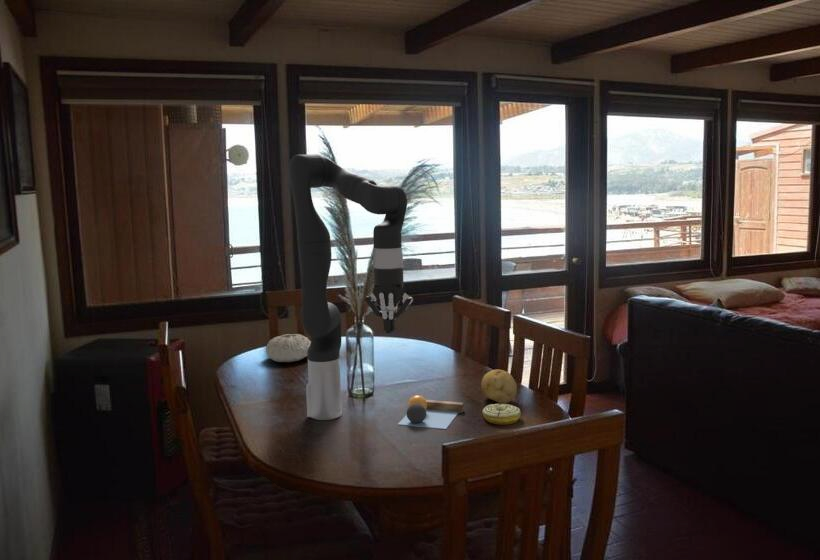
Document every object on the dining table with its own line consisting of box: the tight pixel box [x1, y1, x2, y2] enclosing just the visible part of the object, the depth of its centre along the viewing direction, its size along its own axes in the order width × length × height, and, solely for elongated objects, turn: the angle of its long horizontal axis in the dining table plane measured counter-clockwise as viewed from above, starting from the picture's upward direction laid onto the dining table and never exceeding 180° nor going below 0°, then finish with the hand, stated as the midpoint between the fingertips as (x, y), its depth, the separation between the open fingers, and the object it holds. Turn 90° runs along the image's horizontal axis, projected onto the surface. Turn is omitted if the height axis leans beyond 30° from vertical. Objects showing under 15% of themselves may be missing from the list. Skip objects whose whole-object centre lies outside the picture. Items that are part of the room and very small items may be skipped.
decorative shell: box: [265, 333, 311, 363], centre depth 260 cm, size 18×18×10 cm
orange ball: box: [407, 394, 427, 410], centre depth 195 cm, size 6×6×6 cm
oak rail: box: [426, 399, 465, 414], centre depth 198 cm, size 16×2×2 cm, turn 71°
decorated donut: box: [482, 403, 522, 426], centre depth 189 cm, size 10×11×4 cm
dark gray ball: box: [406, 404, 426, 423], centre depth 188 cm, size 6×6×6 cm
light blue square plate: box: [397, 409, 460, 430], centre depth 191 cm, size 14×14×1 cm
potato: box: [480, 369, 518, 404], centre depth 204 cm, size 10×12×10 cm
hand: (389, 332), depth 171 cm, fingers closed
